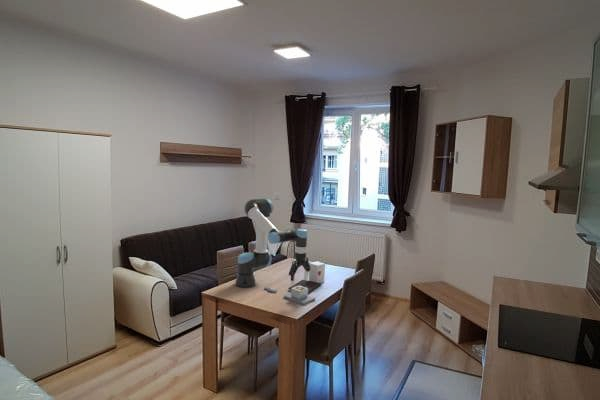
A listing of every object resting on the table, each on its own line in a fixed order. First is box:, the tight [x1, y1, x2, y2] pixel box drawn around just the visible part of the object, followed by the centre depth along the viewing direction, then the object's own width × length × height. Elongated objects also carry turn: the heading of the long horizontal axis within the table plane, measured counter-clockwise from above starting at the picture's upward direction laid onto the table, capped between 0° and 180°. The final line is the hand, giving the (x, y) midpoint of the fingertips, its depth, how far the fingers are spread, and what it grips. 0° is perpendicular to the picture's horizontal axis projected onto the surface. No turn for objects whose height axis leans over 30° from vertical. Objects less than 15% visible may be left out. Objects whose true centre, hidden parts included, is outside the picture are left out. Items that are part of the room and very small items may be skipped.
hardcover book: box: [287, 279, 322, 295], centre depth 255 cm, size 16×23×2 cm
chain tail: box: [263, 286, 278, 294], centre depth 246 cm, size 12×4×1 cm, turn 49°
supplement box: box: [308, 260, 326, 284], centre depth 268 cm, size 9×9×15 cm
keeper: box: [283, 287, 316, 306], centre depth 232 cm, size 18×12×8 cm, turn 49°
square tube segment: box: [290, 286, 309, 300], centre depth 232 cm, size 8×8×6 cm
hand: (299, 282), depth 232 cm, fingers open, 13 cm apart
